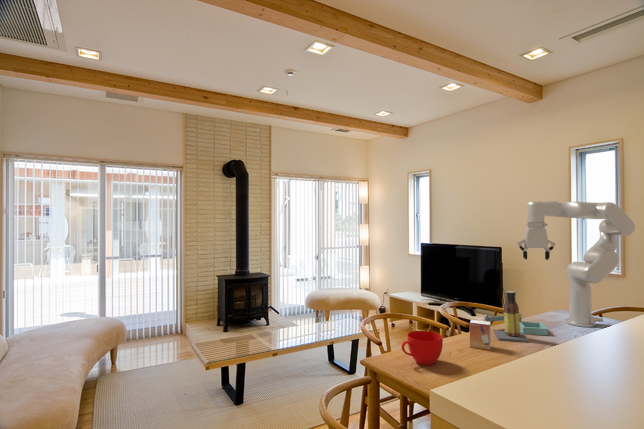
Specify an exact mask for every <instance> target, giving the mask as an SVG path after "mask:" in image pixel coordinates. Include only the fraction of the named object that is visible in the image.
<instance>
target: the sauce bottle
mask: <svg viewBox="0 0 644 429" xmlns="http://www.w3.org/2000/svg"><path fill="white" fill-rule="evenodd" d="M516 294H517V293H516V291H514V290H506V291H505V298H506V299H505V300H506V301H505V304H504V305H503V306H504V307H503V315H504V320H503V321H504V331H505V333H506V335H508V336H513V337H517V336H520V332H521V331H520V322H519V313H520V309H519V305H518V303H517V301H516Z"/></svg>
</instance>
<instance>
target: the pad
mask: <svg viewBox="0 0 644 429" xmlns="http://www.w3.org/2000/svg"><path fill="white" fill-rule="evenodd" d="M493 333H494V334H495V337H496V338H497V339H498V341H502V342H514V343H515V342H517V343H529V338H527V336H526V334H523V333H522V332H521V331H520V336H517V337H513V336H508V335H506V333H505V330H494V332H493Z"/></svg>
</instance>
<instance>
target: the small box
mask: <svg viewBox="0 0 644 429" xmlns="http://www.w3.org/2000/svg"><path fill="white" fill-rule="evenodd" d="M491 322H492V321H490V322H487V321H485V320H475V319H470V322H469V347H470V348H475V349H483V350H486V351H490V349H491V345H492V339H491V338H492V337H491V335H492V325H491V324H492V323H491Z"/></svg>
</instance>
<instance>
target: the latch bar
mask: <svg viewBox="0 0 644 429" xmlns="http://www.w3.org/2000/svg"><path fill="white" fill-rule="evenodd" d="M483 316H484V321H487V322H500V321H501V322H502V321H504V314H502V315H489V314H484V315H483ZM522 319H523V314H522V313H520V312H519V320H521V321H522Z"/></svg>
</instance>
